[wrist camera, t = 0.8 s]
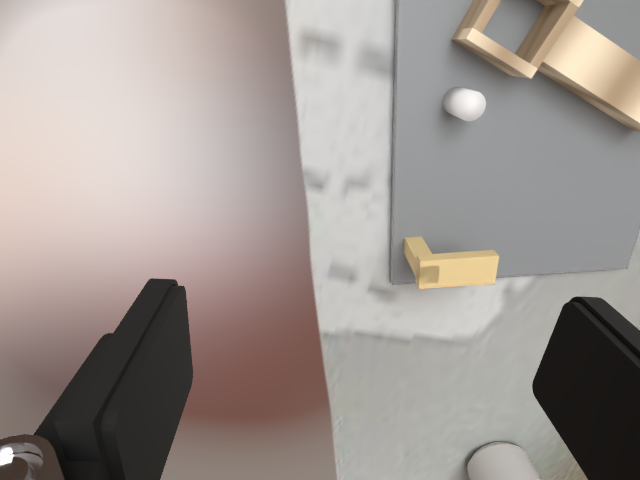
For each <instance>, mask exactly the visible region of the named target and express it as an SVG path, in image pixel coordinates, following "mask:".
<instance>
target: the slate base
mask: <svg viewBox="0 0 640 480" xmlns="http://www.w3.org/2000/svg"><path fill="white" fill-rule="evenodd" d="M472 2H473V0H396V17H395V66H394V115H393V165H392V214H391V263H390V280H391V283H392V285H395V284H410V283H416V284H417V286H418V289H428V288H443V287H457V286H472V285H486V284H495V280H496V278H497V277H512V276H526V275H541V274H555V273H570V272H584V271H599V270H613V269H627V268H628V265H629V262H630V259H631V255H632V252H633V249H634V246H635V242H636V239H637V236H638V233H639V230H640V132H639V131H635V130H632V129H630V128H628V127H627V126H625V125H624V124H622V123H621V122H619V121H617V120H616V119H614V118H613V117H611V116H609V115H608V114H606V113H605V112H603V111H601V110H600V109H598V108H597V107H595V106H593V105H592V104H590V103H589V102H587V101H585V100H584V99H582V98H581V97H579V96H577V95H576V94H574V93H573V92H571V91H569V90H568V89H566V88H565V87H563V86H562V85H560V84H558V83H557V82H555V81H554V80H552V79H550V78H549V77H547V76H546V75H544V74H542V73H541V72H539V71H538V70H537V71H536V72H535V74H534V75H533V77H532V78H531V79H529V78H522V77H515V76H510V75H508V74H507V73H505V72H504V71H502V70H500V69H499V68H497V67H495V66H494V65H492V64H490V63H489V62H487V61H486V60H484V59H482V58H481V57H479V56H477V55H476V54H474V53H473V52H471V51H469V50H468V49H466V48H464V47H463V46H461V45H459V44H458V43H456V42H455V41H453V40H451V39H452V37H453V35H454V33H455V32H456V30H457V28H458V26H459V25H460V23H461V21H462V19H463V18H464V16H465V14H466V12H467V11H468V9H469V7H470V5H471V4H472ZM544 7H545V6H544V5H543V4H541V3H540V2H538V1H537V0H501V1H500V3H499V5H498V6H497V8H496V10H495V11H494V13H493V15H492V16H491V18H490V20H489V22H488V23H487V25H486V27H485V28H484V30H483V32H482V34H483V35H485V36H487V37H488V38H490V39H491V40H493V41H495V42H496V43H498V44H499V45H501V46H503V47H504V48H506V49H507V50H509V51H511V52H512V53H514V54H515V52H516V51H517V49H518V47H519V46H520V44H521V43H522V41H523V40H524V38H525V37H526V35H527V33H528V32H529V30H530V29H531V27H532V26H533V24H534V22H535V21H536V19H537V18H538V16H539V15H540V13H541V11H542V10H543V8H544ZM574 16H575V17H577V18H578V19H580V20H581V21H582V22H584V23H585V24H587V25H588V26H590V27H591V28H593V29H594V30H596V31H597V32H599V33H600V34H601V35H603V36H604V37H606V38H607V39H609V40H610V41H612V42H613V43H615V44H616V45H618V46H619V47H620V48H622V49H623V50H625V51H626V52H628V53H629V54H631V55H632V56H634V57H635V58H637V59H638V60H639V61H640V0H584V1H583V2H582V4H581V5H580V7H579V8H578V10H577V11H576V13H575V14H574Z"/></svg>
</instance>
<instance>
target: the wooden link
mask: <svg viewBox="0 0 640 480" xmlns="http://www.w3.org/2000/svg"><path fill="white" fill-rule="evenodd" d="M500 1H501V0H473V2H472V4H471V5H470V7H469V9H468V11H467V12H466V14H465V16H464V18H463V19H462V21H461V23H460V25H459V26H458V28H457V30H456V32H455V33H454V35H453V37H452V39H451V40H453V41H455V42H456V43H458V44H459V45H461V46H463V47H464V48H466V49H468V50H469V51H471V52H473V53H474V54H476V55H477V56H479V57H481V58H482V59H484V60H486V61H487V62H489V63H490V64H492V65H494V66H495V67H497V68H499V69H500V70H502V71H504V72H505V73H507V74H508V75H510V76H515V77H522V78H529V79H531V78H532V77H533V75H534V74H535V72H536V71H537V70H538V71H539V72H541V73H542V74H544V75H546V76H547V77H549V78H550V79H552V80H554V81H555V82H557V83H558V84H560V85H562V86H563V87H565V88H566V89H568V90H569V91H571V92H573V93H574V94H576V95H577V96H579V97H581V98H582V99H584V100H585V101H587V102H589V103H590V104H592V105H593V106H595V107H597V108H598V109H600V110H601V111H603V112H605V113H606V114H608V115H609V116H611V117H613V118H614V119H616V120H617V121H619V122H621V123H622V124H624V125H625V126H627V127H628V128H630V129H632V130H635V131H639V132H640V61H639V60H638V59H637V58H635V57H634V56H632V55H631V54H629V53H628V52H626V51H625V50H623V49H622V48H620V47H619V46H618V45H616V44H615V43H613V42H612V41H610V40H609V39H607V38H606V37H604V36H603V35H601V34H600V33H599V32H597V31H596V30H594V29H593V28H591V27H590V26H588V25H587V24H585V23H584V22H582V21H581V20H580V19H578V18H577V17H575V16H574V14H575V13H576V11H577V10H578V8H579V7H580V5H581V4H582V2H583V1H584V0H537V1H538V2H540V3H541V4H543V5H544V6H545V7H544V8H543V10H542V11H541V13H540V15H539V16H538V18H537V19H536V21H535V22H534V24H533V26H532V27H531V29H530V30H529V32H528V33H527V35H526V37H525V38H524V40H523V41H522V43H521V44H520V46H519V47H518V49H517V51H516V52H515V54H514V53H512V52H511V51H509V50H507V49H506V48H504V47H503V46H501V45H499V44H498V43H496V42H495V41H493V40H491V39H490V38H488V37H487V36H485V35H483V34H482V32H483V30H484V28H485V27H486V25H487V23H488V22H489V20H490V18H491V16H492V15H493V13H494V11H495V10H496V8H497V6H498V5H499V3H500Z"/></svg>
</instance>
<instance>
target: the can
mask: <svg viewBox="0 0 640 480" xmlns="http://www.w3.org/2000/svg"><path fill="white" fill-rule="evenodd" d="M467 470H468V475H469V477H470V480H541V478H540V476H539V475H538V473H537V471H536V469H535V467H534V465H533V464H532V462H531V460H530V458H529V456H528V455H527V453H526V451H525V450H524V449H522V448H521V447H519V446H516V445H512V444H510V443H506V442H494V443H490V444H487V445H485V446H482V447H481V448H479V449H478V450H477V451H476V452H475V453H474V454H473V456H472V458H471V460H470V461H469V463H468V467H467Z"/></svg>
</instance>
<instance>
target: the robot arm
mask: <svg viewBox="0 0 640 480" xmlns="http://www.w3.org/2000/svg"><path fill="white" fill-rule="evenodd" d="M192 368H193V367H192V356H191V345H190V335H189V324H188V312H187V301H186V291H185V287H184V286H178V284H177V281H176V280H172V279H150V280H149V281H148V282H147V283H146V285H145V286H144V288H143V289H142V291H141V292H140V294H139V295H138V297H137V298H136V300H135V301H134V303H133V305H132V306H131V307H130V309H129V311H128V312H127V313H126V315H125V316H124V318H123V319H122V321H121V322H120V324H119V326H118V327H117V328H116V330H115V331H114V333H108V334H105V335H104V336H103V337H102V338H101V339H100V340H99V341H98V343H97V344H96V346H95V347H94V349H93V350H92V352H91V353H90V354H89V356H88V357H87V359H86V360H85V362H84V363H83V364H82V366H81V367H80V369H79V370H78V372H77V373H76V374H75V376H74V377H73V379H72V380H71V382H70V383H69V384H68V386H67V387H66V389H65V390H64V392H63V393H62V395H61V396H60V397H59V399H58V400H57V402H56V403H55V405H54V406H53V407H52V409H51V410H50V412H49V413H48V415H47V416H46V417H45V419H44V421H43V422H42V423H41V425H40V426H39V428H38V429H37V430H36V432H35V433H34V435H29V434H22V435H16V436H10V437H6V438H3V439H0V480H160V478H161V475H162V472H163V469H164V466H165V463H166V460H167V457H168V454H169V451H170V448H171V445H172V442H173V439H174V436H175V433H176V430H177V427H178V424H179V421H180V418H181V415H182V412H183V409H184V406H185V403H186V400H187V397H188V394H189V391H190V389H191V384H192V378H193V369H192ZM532 388H533V393H534V396H535V398H536V399H537V401H538V402H539V404H540V405H541V407H542V408H543V410H544V412H545V413H546V415H547V416H548V418H549V419H550V421H551V422H552V424H553V425H554V427H555V429H556V430H557V432H558V433H559V435H560V436H561V438H562V439H563V441H564V442H565V444H566V446H567V447H568V449H569V450H570V452H571V453H572V455H573V456H574V458H575V460H576V461H577V463H578V464H579V466H580V467H581V469H582V470H583V472H584V473H585V475H586V477H587V478H588V480H640V331H639V330H638V329H637V328H636V327H635V326H634V325H632V324H631V323H630V322H629V321H628V320H627V319H626V318H624V317H623V316H622V315H621V314H620V313H619V312H617V311H616V310H615V309H614V308H613V307H612V306H611V305H609V304H608V303H607V302H606V301H605V300H603V299H601V298H596V297H574V298H572V299H571V300H570V301H569V302H568V303H566V304H564V306H563V308H562V310H561V313H560V315H559V318H558V320H557V323H556V325H555V328H554V330H553V333H552V335H551V338H550V340H549V343H548V345H547V348H546V350H545V353H544V355H543V358H542V360H541V363H540V365H539V368H538V370H537V373H536V375H535V378H534V380H533V385H532Z"/></svg>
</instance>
